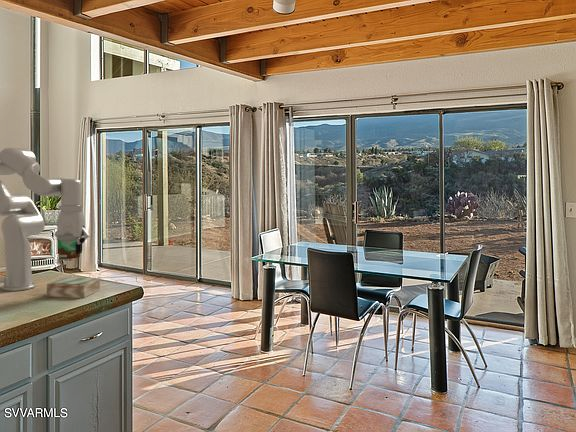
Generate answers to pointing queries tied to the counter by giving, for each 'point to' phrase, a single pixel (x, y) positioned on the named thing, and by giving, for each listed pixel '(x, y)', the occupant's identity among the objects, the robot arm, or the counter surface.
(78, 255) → the food container
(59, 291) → the birch stand
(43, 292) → the counter surface
